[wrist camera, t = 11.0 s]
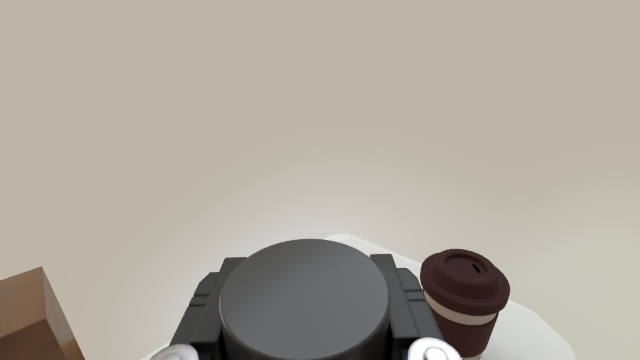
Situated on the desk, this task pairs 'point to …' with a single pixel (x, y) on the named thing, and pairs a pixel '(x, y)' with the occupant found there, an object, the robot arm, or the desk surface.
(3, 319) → the riser
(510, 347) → the desk surface
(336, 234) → the desk surface
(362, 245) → the desk surface
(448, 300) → the coffee cup
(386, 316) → the dark gray cylinder
